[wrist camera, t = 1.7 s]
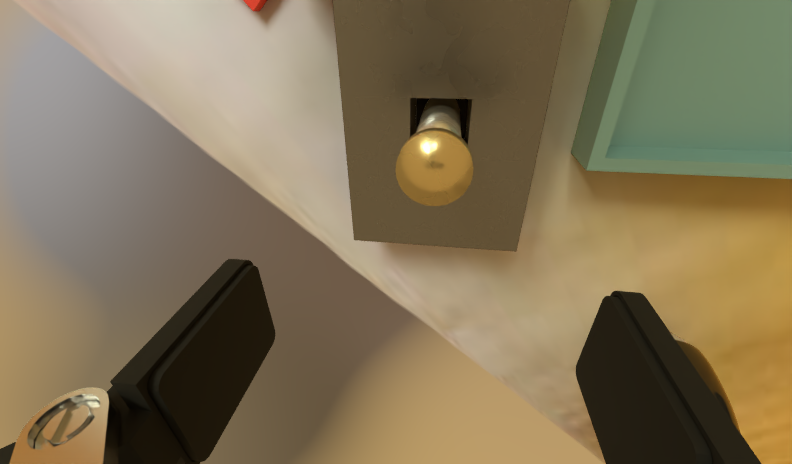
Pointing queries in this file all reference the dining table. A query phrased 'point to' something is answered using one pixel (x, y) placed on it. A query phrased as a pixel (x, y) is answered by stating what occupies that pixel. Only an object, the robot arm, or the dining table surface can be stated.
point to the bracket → (255, 4)
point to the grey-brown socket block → (451, 79)
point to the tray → (691, 90)
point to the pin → (436, 157)
